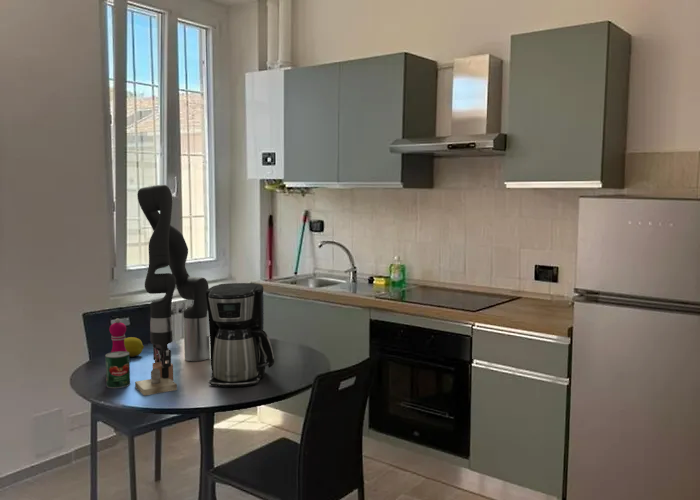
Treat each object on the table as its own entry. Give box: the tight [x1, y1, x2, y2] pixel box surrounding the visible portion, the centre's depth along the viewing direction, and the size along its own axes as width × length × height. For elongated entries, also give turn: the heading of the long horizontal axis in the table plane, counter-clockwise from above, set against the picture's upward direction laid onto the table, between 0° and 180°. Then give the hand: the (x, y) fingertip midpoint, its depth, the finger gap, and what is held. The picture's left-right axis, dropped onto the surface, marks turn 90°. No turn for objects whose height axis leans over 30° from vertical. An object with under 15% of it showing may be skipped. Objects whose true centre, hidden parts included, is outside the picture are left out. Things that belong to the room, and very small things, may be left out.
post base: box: [134, 368, 178, 397], centre depth 215 cm, size 11×11×7 cm
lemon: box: [124, 336, 145, 358], centre depth 257 cm, size 11×8×8 cm
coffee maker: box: [206, 282, 275, 388], centre depth 229 cm, size 23×32×34 cm
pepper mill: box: [108, 318, 127, 353], centre depth 236 cm, size 7×7×20 cm
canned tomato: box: [104, 351, 131, 389], centre depth 219 cm, size 8×8×11 cm
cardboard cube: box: [152, 361, 174, 382], centre depth 224 cm, size 6×6×6 cm
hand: (162, 375), depth 223 cm, fingers open, 7 cm apart
